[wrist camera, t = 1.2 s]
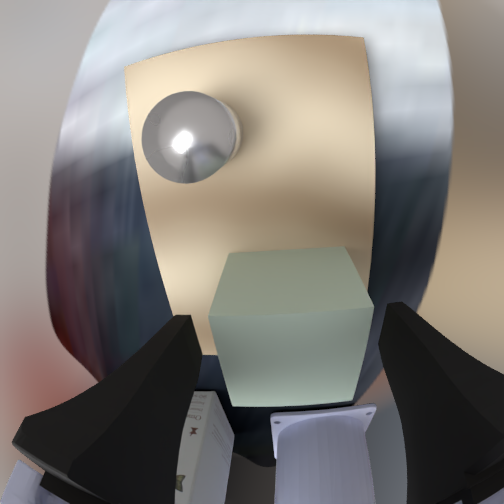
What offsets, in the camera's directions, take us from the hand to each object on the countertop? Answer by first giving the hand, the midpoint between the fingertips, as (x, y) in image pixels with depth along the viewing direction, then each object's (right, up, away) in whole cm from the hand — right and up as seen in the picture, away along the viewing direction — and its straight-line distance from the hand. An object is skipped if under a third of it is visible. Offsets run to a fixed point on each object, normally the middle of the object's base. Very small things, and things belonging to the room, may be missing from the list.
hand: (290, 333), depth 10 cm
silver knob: (-3, +8, +1) cm, 8 cm away
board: (-1, +5, +2) cm, 5 cm away
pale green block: (0, +1, +2) cm, 2 cm away
